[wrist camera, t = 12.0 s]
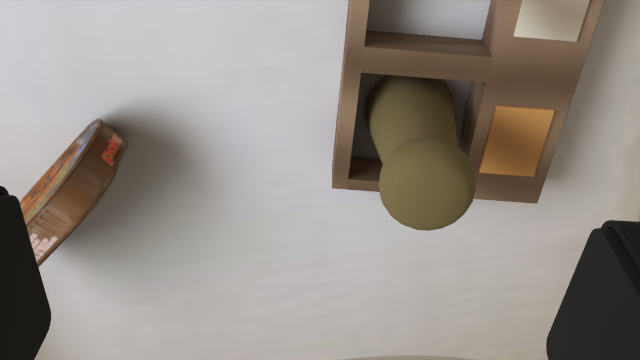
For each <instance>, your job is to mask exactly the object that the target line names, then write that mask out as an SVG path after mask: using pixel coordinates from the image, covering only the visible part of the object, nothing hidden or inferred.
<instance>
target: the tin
mask: <svg viewBox="0 0 640 360" xmlns="http://www.w3.org/2000/svg"><path fill="white" fill-rule="evenodd" d="M127 147H128V142H127V141H126V140H125V139H124V138H123V137H122V136H121V135H119V134H118V133H116V132H115V131H114V130H112V129H111V128H109V127H108V126H107V125H105V124H104V123H103V122H102V120H101V119H96V120H94V121H93V122H92V123H91V124H90V125H88V126H87V127H86V129H85V130H84V131H83V132H82V133H81V134H80V135H79V136H78V137H77V138H76V139H75V140H74V142H73V143H72V144H71V145H70V146H69V147H68V148H67V149H66V151H65V152H64V153H63V154H62V155H61V156H60V157H59V159H58V160H57V161H56V162H55V163H54V164H53V165H52V166H51V167H50V169H49V170H48V171H47V172H46V173H45V174H44V175H43V176H42V178H41V179H40V180H39V181H38V182H37V183H36V184H35V185H34V186H33V188H32V189H31V190H30V191H29V192H28V193H27V194H26V196H25V197H24V198H23V199H22V200H21V202H20V206H21V210H22V213H23V216H24V220H25V223H26V227H27V230H28V234H29V237H30V241H31V244H32V248H33V251H34V255H35V258H36V261H37V265H38V267H39V266H40V265H41V264H42V263H43V262H44V261H45V260H46V259H47V258H48V257H49V256H50V255H51V254H52V253H53V252H54V251H55V250H56V249H57V248H58V247H59V245H60V244H61V243H62V242H63V241H64V240H65V239H66V238H67V237H68V236H69V235H70V234H71V233H72V232H73V231H74V230H75V229H76V228H77V227H78V226H79V224H80V223H81V222H82V221H83V220H84V219H85V217H86V216H87V215H88V214H89V213H90V211H91V210H92V209H93V208H94V206H95V205H96V204H97V202H98V201H99V200H100V198H101V197H102V196H103V194H104V193H105V191H106V190H107V188H108V187H109V185H110V184H111V182H112V180H113V178H114V177H115V175H116V172H117V169H118V165H119V163H120V160H121V158H122V156H123V154H124V152H125V149H126V148H127Z"/></svg>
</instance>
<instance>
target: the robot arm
mask: <svg viewBox="0 0 640 360" xmlns="http://www.w3.org/2000/svg"><path fill="white" fill-rule="evenodd" d="M50 322H51V311H50V307H49V303H48V300H47V296H46V293H45V289H44V286H43V282H42V279H41V275H40V272H39V268H38V265H37V261H36V258H35V255H34V251H33V248H32V244H31V241H30V237H29V234H28V230H27V227H26V223H25V220H24V216H23V213H22V210H21V206H20V203H19V200H18V199H17V198H16V196H13V195H9V193H8V191H7V190H6V189H5V188H4V187H2V186H0V360H34V359H35V357H36V355H37V353H38V351H39V349H40V347H41V345H42V343H43V341H44V339H45V337H46V335H47V333H48V330H49V327H50ZM546 350H547V356H548V359H549V360H640V222H632V221H614V220H610V221H606V222H605V223H604V224H603V225H602V227H601V228H597V229H594V230H593V231H592V232H591V234H590V236H589V238H588V240H587V243H586V245H585V248H584V250H583V252H582V255H581V257H580V260H579V262H578V264H577V267H576V269H575V272H574V274H573V277H572V279H571V281H570V284H569V286H568V289H567V291H566V293H565V296H564V298H563V301H562V303H561V305H560V308H559V310H558V313H557V315H556V318H555V320H554V322H553V325H552V327H551V330H550V332H549V334H548V337H547V343H546Z"/></svg>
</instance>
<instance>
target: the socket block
mask: <svg viewBox="0 0 640 360" xmlns="http://www.w3.org/2000/svg"><path fill="white" fill-rule="evenodd" d="M369 3H370V0H349V6H348V16H347V26H346V36H345V45H344V55H343V65H342V75H341V85H340V94H339V104H338V114H337V124H336V133H335V143H334V153H333V163H332V188H336V189H350V190H363V191H377V192H380V191H379V179H380V172H381V169H382V166H383V164H382V162H381V159H371V158H358V157H351V151H352V143H353V135H354V127H355V118H356V110H357V102H358V94H359V85H360V77H361V73H372V74H385V75H397V76H410V77H422V78H435V79H447V80H460V81H472V86H471V90H470V94H469V99H468V103H467V107H466V112H465V116H464V121H463V125H462V129H461V134H460V138H459V142H458V148H459V149H460V150H461V151H462V152H463V153H465V154H466V156H467V158H468V160H469V161H470V163H471V165H472V167H473V169H474V173H475V180H476V190H475V194H474V198H473V199H484V200H497V201H511V202H524V203H538V200H539V197H540V194H541V191H542V187H543V184H544V181H545V178H546V175H547V172H548V169H549V166H550V163H551V160H552V157H553V154H554V151H555V148H556V145H557V142H558V139H559V136H560V133H561V130H562V127H563V124H564V121H565V118H566V115H567V112H568V109H569V106H570V103H571V100H572V97H573V94H574V91H575V88H576V85H577V82H578V79H579V76H580V73H581V70H582V67H583V64H584V61H585V58H586V55H587V52H588V49H589V45H590V42H591V39H592V36H593V33H594V30H595V27H596V24H597V21H598V18H599V15H600V12H601V9H602V6H603V3H604V0H491V3H490V7H489V12H488V16H487V20H486V25H485V29H484V33H483V38H482V40H474V39H462V38H450V37H437V36H425V35H413V34H401V33H388V32H376V31H366V27H367V19H368V11H369Z"/></svg>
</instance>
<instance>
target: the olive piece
mask: <svg viewBox="0 0 640 360" xmlns="http://www.w3.org/2000/svg"><path fill="white" fill-rule="evenodd" d="M364 115H365V119H366V124H367V127H368V129H369V132H370V134H371V137H372V139H373V142H374V144H375V147H376V149H377V152H378V154H379V157H380V159H381V162H382V164H383V166H382V169H381V172H380V179H379V191H380V195H381V199H382V203H383V204H384V206H385V208H386V209H387V210H388V212H389V213H390V215H391V216H392V217H393V218H394V219H396V220H397V221H398V222H400V223H401V224H403V225H405V226H408V227H411V228H414V229H417V230H435V229H440V228H444V227H446V226H448V225H450V224H452V223H454V222H455V221H457V220H458V219H459V218H460V217H461V216H463V215H464V213H465V212H466V211H467V209H468V208H469V206H470V205H471V203H472V202H473V198H474V194H475V190H476V180H475V173H474V169H473V167H472V165H471V163H470V161H469V160H468V158H467V156H466V154H465V153H463V152H462V151H461V150H460V149H459V148H458V147H457V136H456V125H455V113H454V104H453V97H452V93H451V91H450V90H449V88H448V86H447V84H446V83H445V82H444V81H443V80H442V79H435V78H422V77H410V76H397V75H386V76H385V77H383V78H381V79H380V80H379V81H378V82H377V83H376V84H375V85H374V86H373V87H372V88H371V90H370V93H369V95H368V97H367V99H366V101H365V110H364Z"/></svg>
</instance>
